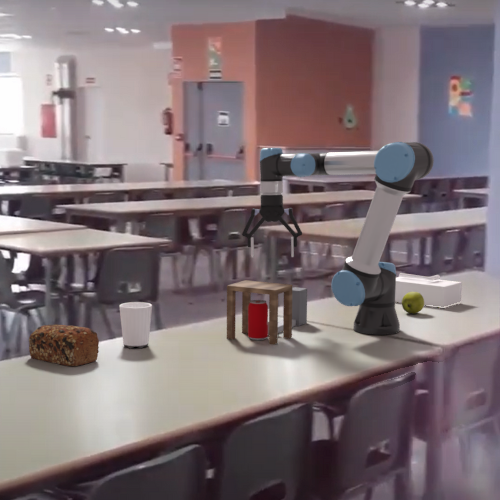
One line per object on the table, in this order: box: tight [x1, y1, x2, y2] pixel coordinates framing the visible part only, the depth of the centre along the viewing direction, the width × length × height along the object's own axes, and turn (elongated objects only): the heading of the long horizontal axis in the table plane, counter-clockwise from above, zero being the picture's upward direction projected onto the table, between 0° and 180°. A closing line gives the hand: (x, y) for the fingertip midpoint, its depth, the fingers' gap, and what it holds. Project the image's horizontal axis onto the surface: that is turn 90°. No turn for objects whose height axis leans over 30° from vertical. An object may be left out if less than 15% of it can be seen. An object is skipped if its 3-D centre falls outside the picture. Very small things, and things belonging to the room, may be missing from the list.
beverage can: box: [247, 299, 269, 341], centre depth 291 cm, size 6×6×12 cm
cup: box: [118, 301, 153, 349], centre depth 279 cm, size 10×10×13 cm
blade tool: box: [268, 286, 308, 336], centre depth 307 cm, size 6×23×12 cm, turn 151°
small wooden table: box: [226, 279, 293, 346], centre depth 291 cm, size 17×12×17 cm
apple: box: [401, 292, 425, 314], centre depth 334 cm, size 8×9×8 cm
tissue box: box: [395, 272, 463, 307], centre depth 357 cm, size 14×25×11 cm, turn 51°
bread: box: [28, 324, 100, 367], centre depth 262 cm, size 19×11×10 cm, turn 53°
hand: (272, 256), depth 312 cm, fingers open, 13 cm apart
